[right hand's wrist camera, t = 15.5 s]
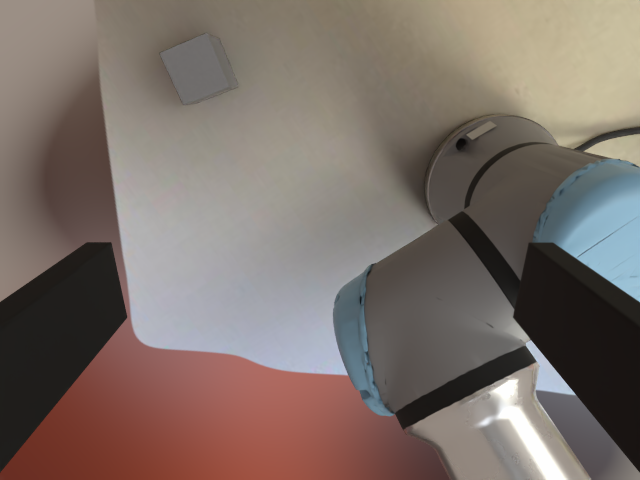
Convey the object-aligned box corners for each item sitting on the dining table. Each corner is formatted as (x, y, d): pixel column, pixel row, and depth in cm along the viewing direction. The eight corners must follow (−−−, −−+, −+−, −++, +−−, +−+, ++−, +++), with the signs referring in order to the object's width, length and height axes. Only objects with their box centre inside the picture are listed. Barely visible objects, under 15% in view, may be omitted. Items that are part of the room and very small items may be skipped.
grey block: (219, 38, 41) (206, 32, 36) (239, 86, 43) (229, 87, 38) (176, 56, 42) (158, 52, 37) (197, 103, 43) (183, 105, 39)
